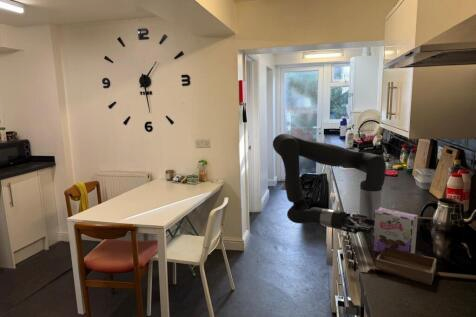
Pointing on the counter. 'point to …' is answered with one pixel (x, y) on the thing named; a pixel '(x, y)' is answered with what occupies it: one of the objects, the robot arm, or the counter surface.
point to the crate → (407, 265)
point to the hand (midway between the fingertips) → (374, 227)
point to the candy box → (394, 230)
